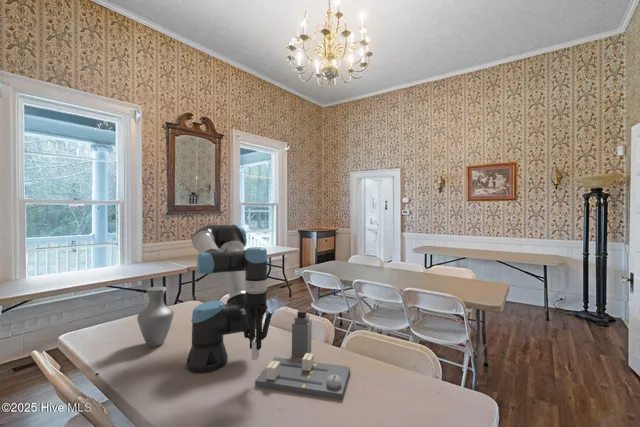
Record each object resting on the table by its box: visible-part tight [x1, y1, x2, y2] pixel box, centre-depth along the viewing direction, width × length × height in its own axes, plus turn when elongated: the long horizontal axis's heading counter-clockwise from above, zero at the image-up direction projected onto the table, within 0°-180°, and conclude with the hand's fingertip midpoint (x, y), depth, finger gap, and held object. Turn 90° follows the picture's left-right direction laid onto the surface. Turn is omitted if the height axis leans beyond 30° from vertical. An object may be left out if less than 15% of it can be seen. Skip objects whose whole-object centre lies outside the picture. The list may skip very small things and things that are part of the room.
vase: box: [136, 285, 175, 348], centre depth 138 cm, size 14×14×25 cm
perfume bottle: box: [291, 309, 313, 359], centre depth 130 cm, size 7×7×18 cm
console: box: [254, 357, 351, 401], centre depth 110 cm, size 30×18×4 cm, turn 76°
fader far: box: [301, 352, 315, 371], centre depth 114 cm, size 3×5×4 cm, turn 166°
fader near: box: [266, 360, 280, 380], centre depth 108 cm, size 3×5×4 cm, turn 167°
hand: (255, 358), depth 109 cm, fingers closed
